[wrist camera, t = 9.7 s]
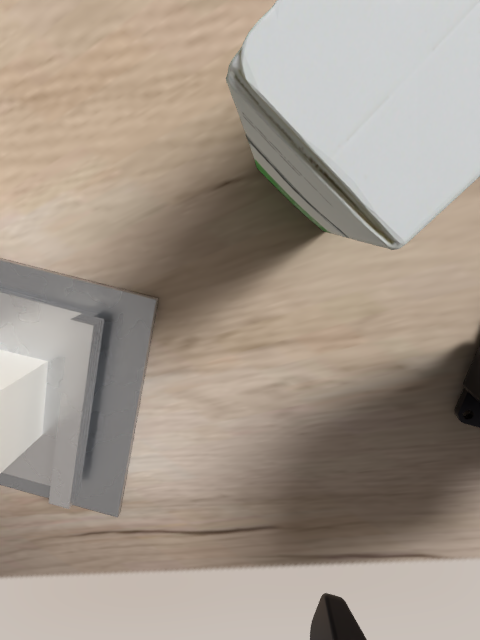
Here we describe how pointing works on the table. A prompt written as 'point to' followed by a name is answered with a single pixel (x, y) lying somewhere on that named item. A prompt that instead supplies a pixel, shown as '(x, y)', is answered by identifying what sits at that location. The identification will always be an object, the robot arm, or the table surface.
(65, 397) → the rail panel
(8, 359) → the block
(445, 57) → the ink box
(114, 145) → the table surface
